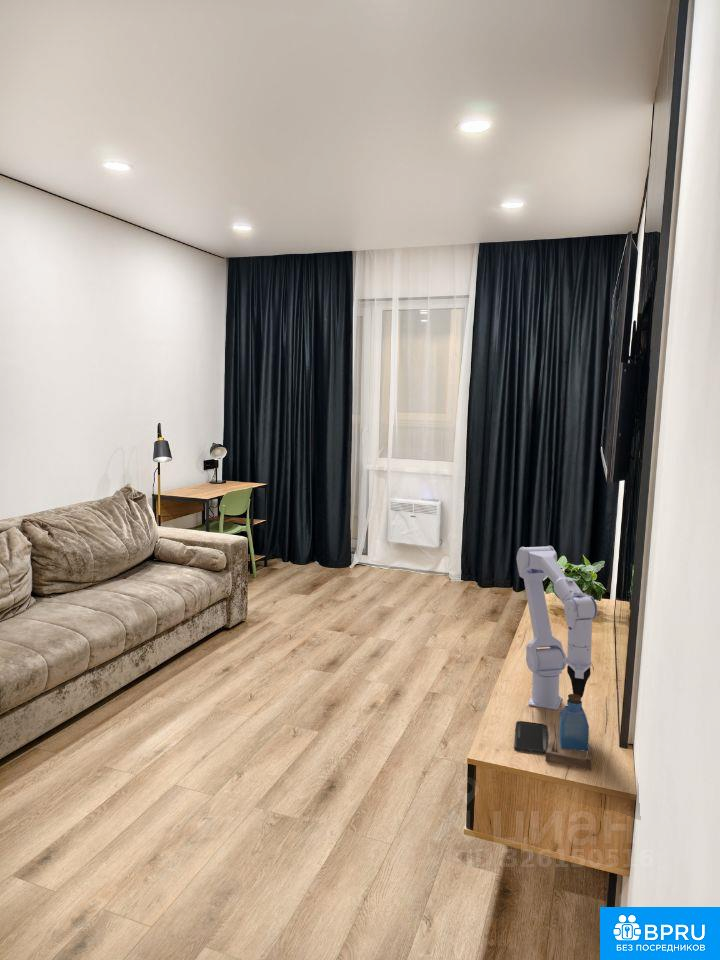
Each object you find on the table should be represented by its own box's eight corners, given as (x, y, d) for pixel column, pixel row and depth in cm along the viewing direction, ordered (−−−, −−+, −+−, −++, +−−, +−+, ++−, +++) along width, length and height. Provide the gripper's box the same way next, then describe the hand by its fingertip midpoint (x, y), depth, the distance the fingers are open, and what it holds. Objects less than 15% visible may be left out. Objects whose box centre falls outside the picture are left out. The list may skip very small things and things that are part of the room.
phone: (547, 724, 168) (547, 751, 154) (547, 728, 169) (547, 756, 154) (515, 720, 171) (513, 747, 156) (515, 724, 171) (513, 751, 156)
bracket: (550, 746, 158) (550, 738, 158) (593, 755, 154) (593, 747, 154) (545, 760, 151) (545, 752, 151) (590, 769, 147) (591, 761, 147)
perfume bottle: (585, 739, 162) (586, 692, 161) (588, 751, 156) (589, 703, 155) (559, 736, 163) (560, 690, 162) (561, 748, 157) (562, 700, 156)
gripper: (563, 633, 173) (562, 683, 174) (562, 651, 159) (561, 705, 160) (591, 636, 171) (589, 686, 172) (593, 654, 157) (591, 708, 158)
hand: (578, 695), depth 166 cm, fingers closed
